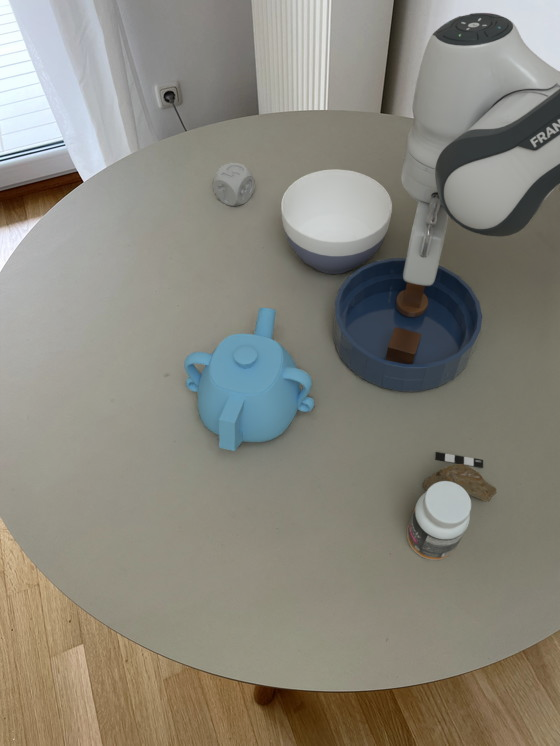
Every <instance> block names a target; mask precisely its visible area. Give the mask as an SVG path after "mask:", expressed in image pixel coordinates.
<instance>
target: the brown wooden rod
mask: <svg viewBox="0 0 560 746" xmlns="http://www.w3.org/2000/svg"><path fill="white" fill-rule="evenodd" d="M424 288H425V286H423V285H417V284H412V283H408V282H407V285H406V290H403V291H401V292H400V293H399V294H398V296H397V299H396V307H397V309H398V311H399V312H400V313H401V314H403V315H405V316H408V317H417V316H420V315H422V314H423V313H424V312H425V311H426V309H427V306H428V298H427V296H426V295H425V294H424V293H423V292H424Z"/></svg>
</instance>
